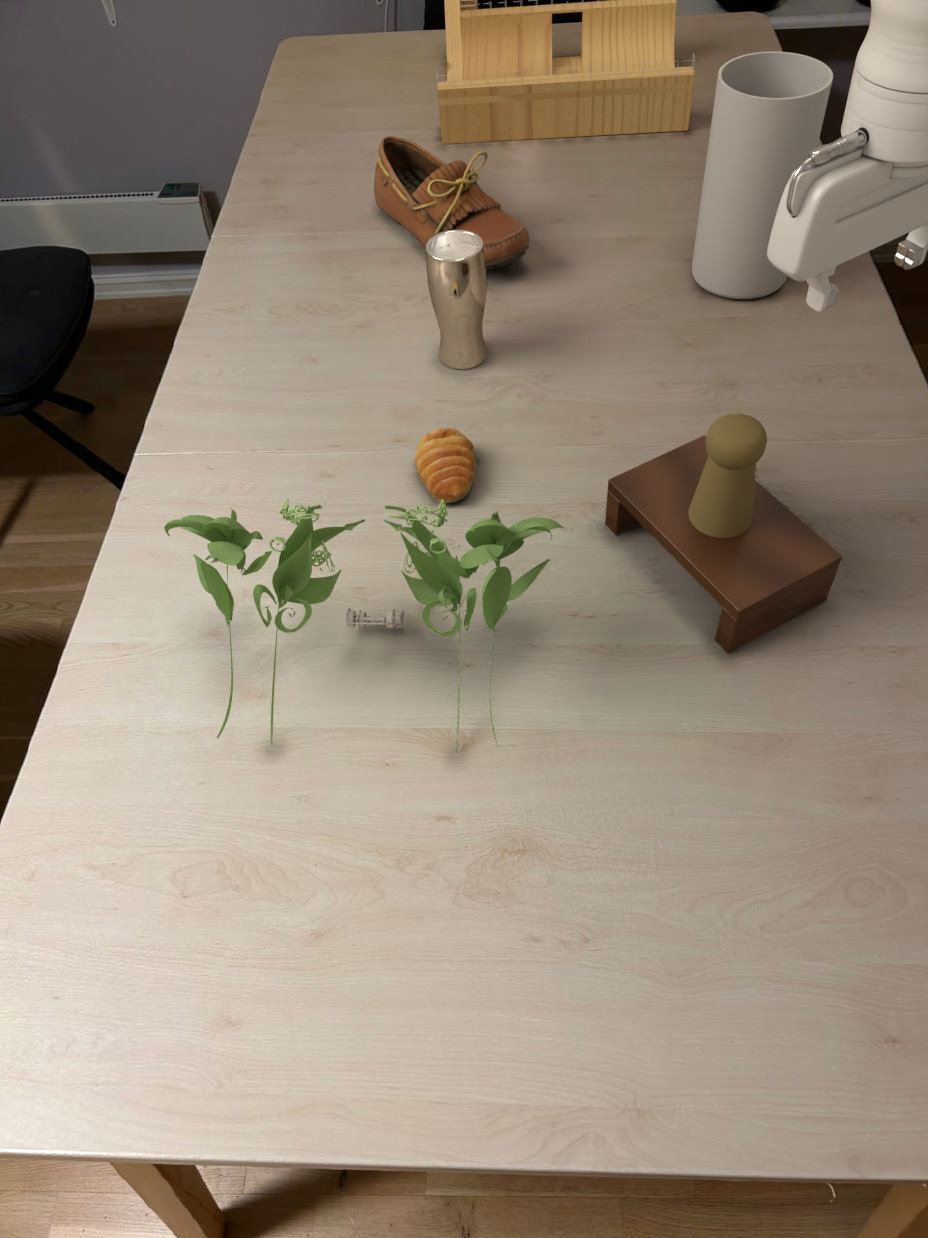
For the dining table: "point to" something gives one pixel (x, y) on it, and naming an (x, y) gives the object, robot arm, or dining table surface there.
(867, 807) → the dining table surface
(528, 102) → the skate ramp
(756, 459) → the olive yellow pawn
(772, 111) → the cylinder vase
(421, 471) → the pastry
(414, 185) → the moccasin
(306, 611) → the plant cuttings
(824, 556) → the shelf
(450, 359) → the beer glass
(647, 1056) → the dining table surface
